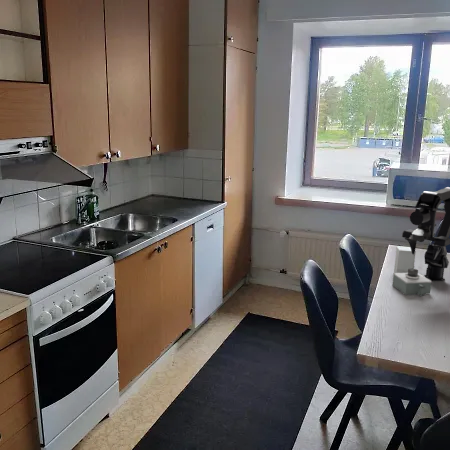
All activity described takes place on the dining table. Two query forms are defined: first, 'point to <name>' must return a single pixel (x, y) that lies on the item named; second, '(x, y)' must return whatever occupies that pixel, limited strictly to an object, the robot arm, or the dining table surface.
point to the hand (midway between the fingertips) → (423, 256)
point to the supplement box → (404, 259)
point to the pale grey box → (411, 284)
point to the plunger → (412, 274)
